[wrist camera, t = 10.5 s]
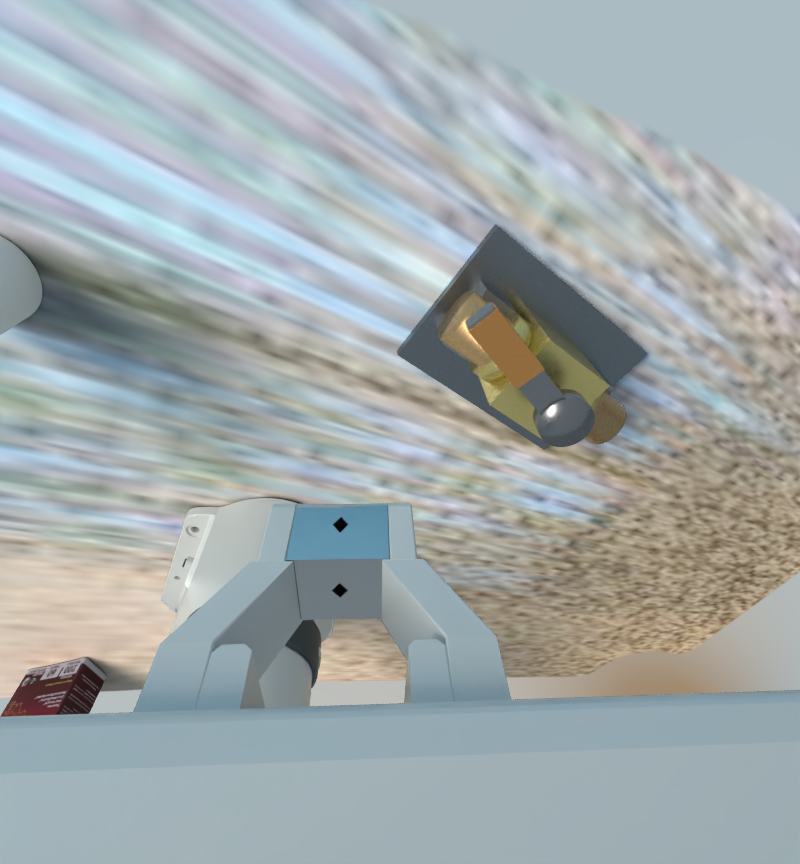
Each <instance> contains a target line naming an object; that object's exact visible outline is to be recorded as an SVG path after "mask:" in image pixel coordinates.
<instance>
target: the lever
mask: <svg viewBox="0 0 800 864" xmlns="http://www.w3.org/2000/svg"><path fill="white" fill-rule="evenodd" d="M465 323H466V324H465V325H466V327H467V329H468V332H469V333H470V334H471V336H472V337H473V338H474V339H475V340H476V342H477V343H478V344H479V345H480V346H481V347H482V349H483V350H484V351H485V352H486V353H487V355H488V356H489V357H490V358H491V359H492V361H493V362H494V363H495V364H496V365H497V366H498V368H499V369H500V370H501V371H502V372H503V374H504V375H505V376H506V377H507V378H508V379H509V381H510V382H511V383H512V384H513V385H514V387H515V388H516V389H518V388H519V390H520V391H521V392H522V393H523V394H524V396H525V397H526V398H527V399H528V400H529V402H530V403H531V404H532V405H533V406H534V407H535V409H534V412H533V422H534V424H535V426H536V428H537V430H538V432H539V434H540V436H541V438H542V439H543V440H544V441H545V442H546V443H547V444H549V445H552V446H556V447H566V446H570V445H573V444H576V443H578V442H579V441H581V440H582V439H584V438H585V437H586V436H587V435H588V434H589V433H590V431H591V430H592V428H593V426H594V422H595V414H594V411H593V409H592V408H591V407H590V405H589V404H588V402H587V401H586V400H585V398H584V397H583V396H582V395H581V394H580V393H579V392H577V391H574V390H571V389H561V390H559V388H558V387H557V386H556V385H555V383H554V382H553V381H552V379H551V378H550V377H549V376H548V374H547V373H546V372H545V371H544V370H545V369H544V368H543V366H542V364H541V363H540V361H539V360H538V359H537V357H536V356H535V355H534V354H533V352H532V351H531V350H530V348H529V347H528V346H527V345H526V343H525V342H524V341H523V339H522V338H521V337H520V336H519V334H518V333H517V332H516V331H515V329H514V328H513V327H512V325H511V324H510V323H509V322H508V320H507V319H506V318H505V316H504V315H503V314H502V313H501V311H500V310H499V309H498V307H497V306H496V305H495V304H494V302H493V303H491V302H489V303H487V304H486V305H485V306H484V307H482V308H481V309H480V310H479V311H477V312H476V313H475V314H474V315H472V316H471V317H470V318H469V319H467V320H466V321H465Z"/></svg>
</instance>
